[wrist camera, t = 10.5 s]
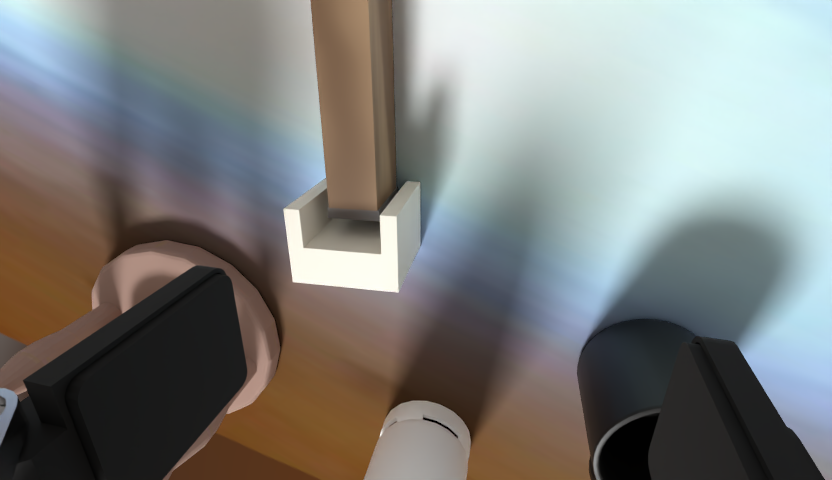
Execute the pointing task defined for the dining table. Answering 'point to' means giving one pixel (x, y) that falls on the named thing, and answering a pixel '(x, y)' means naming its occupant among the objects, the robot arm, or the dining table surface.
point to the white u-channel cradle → (353, 241)
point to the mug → (626, 393)
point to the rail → (356, 104)
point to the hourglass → (136, 281)
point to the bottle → (421, 445)
